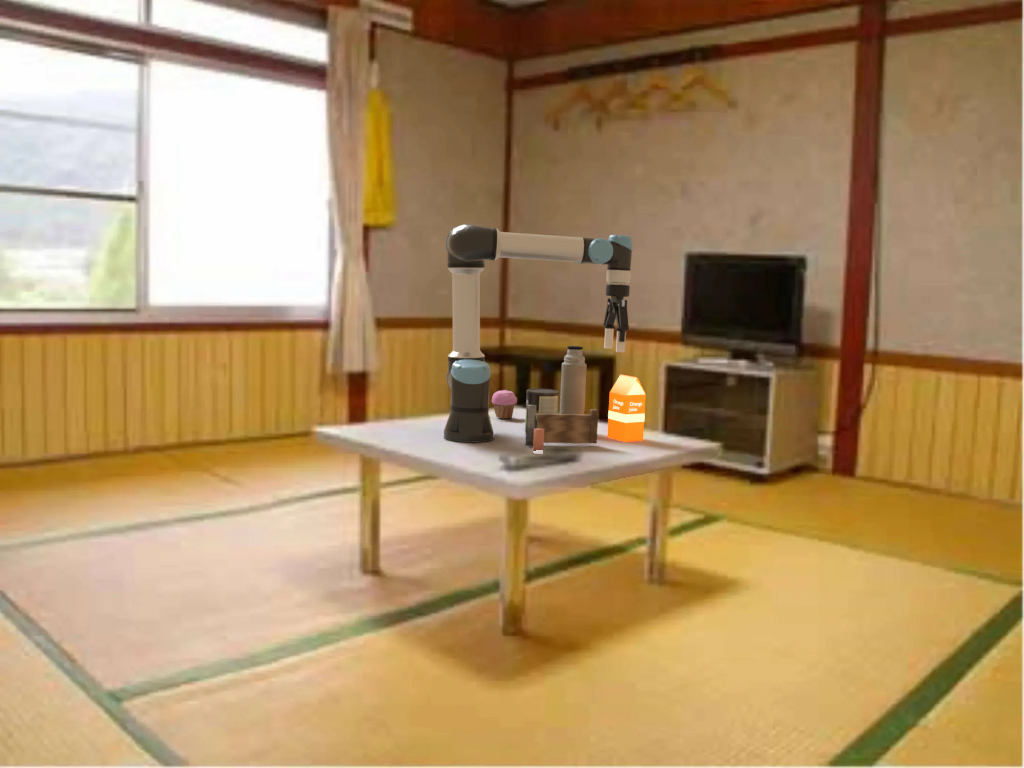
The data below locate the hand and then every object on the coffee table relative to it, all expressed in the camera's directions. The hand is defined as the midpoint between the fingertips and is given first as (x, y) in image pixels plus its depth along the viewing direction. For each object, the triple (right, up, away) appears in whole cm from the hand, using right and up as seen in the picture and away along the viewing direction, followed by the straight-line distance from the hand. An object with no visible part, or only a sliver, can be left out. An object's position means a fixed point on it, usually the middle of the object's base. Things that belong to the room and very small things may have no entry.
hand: (614, 350), depth 303 cm
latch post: (-26, -31, -37) cm, 54 cm away
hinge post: (-28, -29, -24) cm, 47 cm away
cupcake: (-36, -23, +26) cm, 50 cm away
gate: (-17, -28, -23) cm, 40 cm away
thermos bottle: (-14, -27, +2) cm, 30 cm away
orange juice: (+3, -28, -6) cm, 29 cm away
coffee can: (-24, -27, -5) cm, 36 cm away
